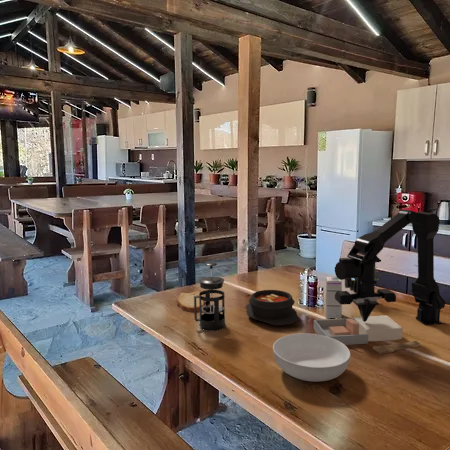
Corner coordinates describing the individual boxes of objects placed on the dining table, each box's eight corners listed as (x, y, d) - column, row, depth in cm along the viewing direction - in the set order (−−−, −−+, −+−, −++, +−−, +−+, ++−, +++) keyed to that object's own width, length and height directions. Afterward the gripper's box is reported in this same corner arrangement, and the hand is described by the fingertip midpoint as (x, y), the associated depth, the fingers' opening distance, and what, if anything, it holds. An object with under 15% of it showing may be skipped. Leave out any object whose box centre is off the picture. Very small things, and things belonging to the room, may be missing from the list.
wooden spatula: (413, 342, 132) (413, 339, 132) (421, 347, 129) (421, 344, 128) (372, 348, 128) (372, 345, 128) (379, 353, 125) (380, 350, 125)
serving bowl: (336, 401, 101) (337, 375, 100) (259, 378, 112) (259, 354, 111) (358, 365, 118) (359, 342, 117) (290, 348, 129) (290, 327, 128)
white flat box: (386, 326, 145) (386, 315, 144) (401, 339, 134) (402, 328, 134) (352, 327, 144) (353, 316, 144) (366, 341, 133) (366, 329, 133)
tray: (351, 326, 146) (351, 318, 145) (367, 343, 132) (368, 334, 131) (313, 328, 145) (313, 319, 144) (326, 345, 131) (326, 336, 130)
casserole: (312, 324, 148) (312, 301, 147) (266, 334, 140) (266, 310, 139) (275, 303, 170) (275, 283, 169) (234, 310, 163) (234, 289, 162)
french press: (221, 318, 154) (220, 258, 151) (231, 328, 146) (230, 264, 142) (191, 324, 150) (189, 262, 146) (199, 333, 141) (198, 268, 138)
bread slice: (198, 314, 160) (198, 305, 159) (162, 306, 169) (162, 297, 169) (223, 301, 175) (223, 292, 174) (189, 294, 184) (189, 286, 184)
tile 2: (351, 318, 138) (346, 319, 138) (359, 324, 134) (353, 324, 133) (351, 332, 139) (345, 333, 139) (358, 339, 134) (353, 339, 134)
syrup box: (341, 319, 152) (343, 281, 150) (325, 318, 153) (326, 280, 151) (340, 313, 157) (341, 276, 155) (324, 312, 159) (325, 276, 156)
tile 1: (328, 326, 139) (328, 332, 140) (334, 333, 134) (334, 338, 135) (343, 325, 140) (342, 331, 140) (349, 331, 135) (349, 337, 135)
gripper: (382, 268, 144) (380, 311, 147) (329, 270, 143) (329, 313, 145) (397, 277, 133) (395, 323, 136) (341, 279, 132) (340, 326, 134)
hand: (364, 321), depth 138 cm, fingers closed
